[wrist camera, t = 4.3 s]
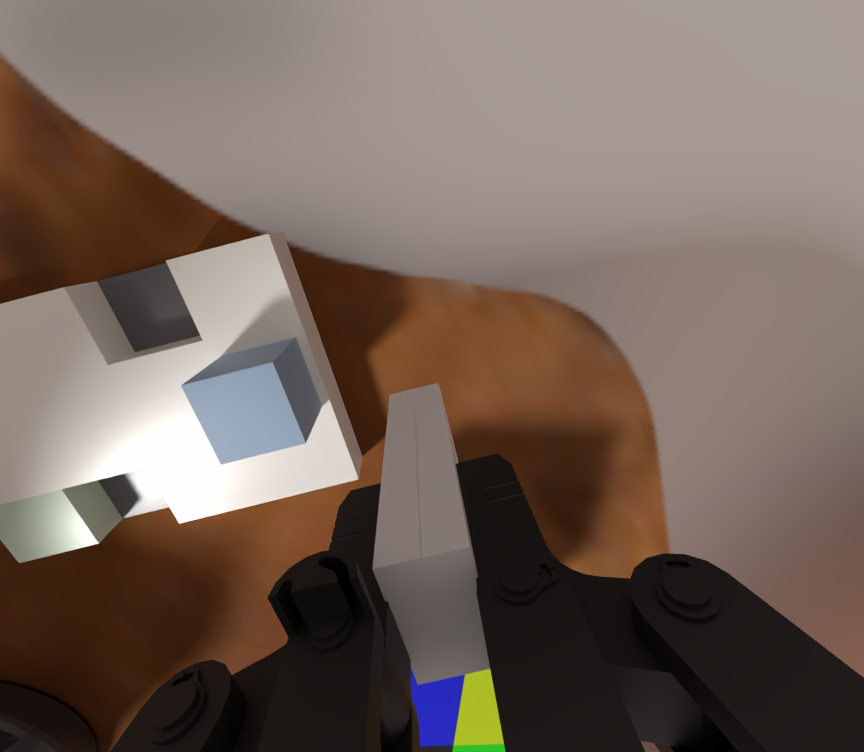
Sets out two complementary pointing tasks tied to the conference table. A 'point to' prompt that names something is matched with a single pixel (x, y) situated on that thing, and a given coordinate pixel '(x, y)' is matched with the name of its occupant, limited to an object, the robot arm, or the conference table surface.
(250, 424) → the block
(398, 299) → the conference table surface
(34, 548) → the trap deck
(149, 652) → the conference table surface
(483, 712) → the puzzle toy
